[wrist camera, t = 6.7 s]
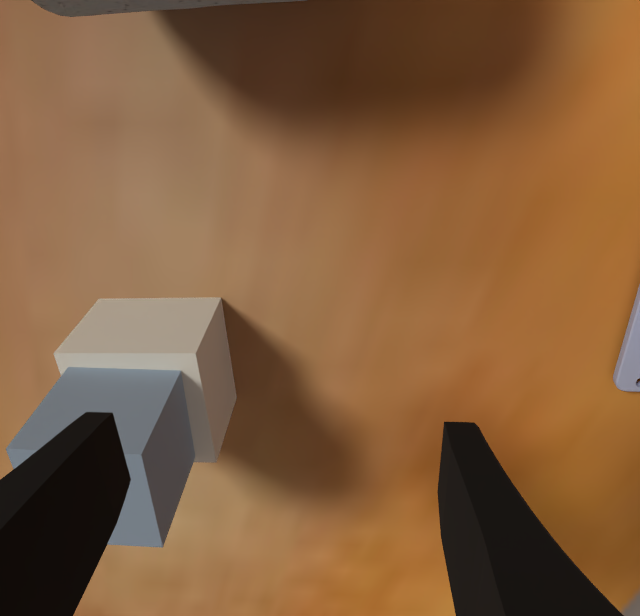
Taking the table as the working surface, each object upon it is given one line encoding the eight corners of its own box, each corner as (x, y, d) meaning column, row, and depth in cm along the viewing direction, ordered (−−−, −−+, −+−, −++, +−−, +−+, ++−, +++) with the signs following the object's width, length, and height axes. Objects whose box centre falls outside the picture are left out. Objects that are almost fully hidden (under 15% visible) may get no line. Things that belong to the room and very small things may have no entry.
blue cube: (180, 370, 20) (141, 454, 16) (195, 456, 22) (162, 547, 18) (68, 366, 20) (5, 448, 17) (92, 452, 22) (41, 540, 19)
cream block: (222, 295, 23) (195, 353, 19) (237, 395, 25) (216, 462, 22) (100, 297, 23) (53, 353, 20) (127, 395, 26) (90, 460, 22)
